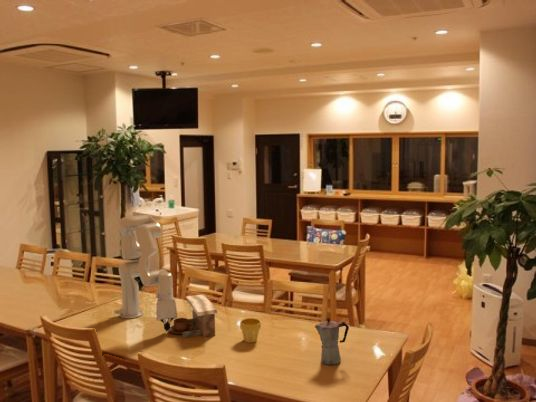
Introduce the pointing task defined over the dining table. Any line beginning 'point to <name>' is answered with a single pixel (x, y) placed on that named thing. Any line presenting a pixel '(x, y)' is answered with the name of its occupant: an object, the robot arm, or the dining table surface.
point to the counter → (201, 316)
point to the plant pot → (250, 329)
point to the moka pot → (330, 340)
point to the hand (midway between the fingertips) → (167, 330)
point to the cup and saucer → (181, 326)
